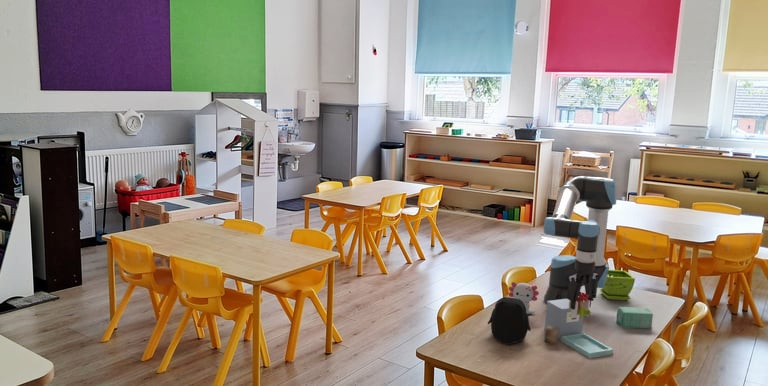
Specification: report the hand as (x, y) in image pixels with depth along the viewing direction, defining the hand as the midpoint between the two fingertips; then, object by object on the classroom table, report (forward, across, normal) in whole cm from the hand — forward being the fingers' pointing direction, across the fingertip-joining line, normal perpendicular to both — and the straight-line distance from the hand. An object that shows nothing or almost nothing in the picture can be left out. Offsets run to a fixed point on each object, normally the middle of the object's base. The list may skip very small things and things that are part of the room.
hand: (579, 315), depth 251 cm
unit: (+14, +5, +15) cm, 22 cm away
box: (+15, +42, +13) cm, 47 cm away
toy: (+15, 0, +38) cm, 41 cm away
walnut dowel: (+14, -7, +8) cm, 18 cm away
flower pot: (+15, +61, +46) cm, 77 cm away
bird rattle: (0, -1, 0) cm, 1 cm away
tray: (+14, +5, -1) cm, 15 cm away
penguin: (+14, -22, +17) cm, 31 cm away
